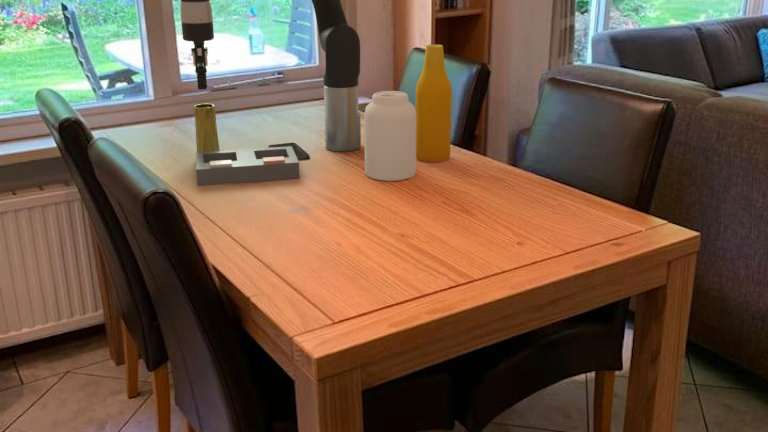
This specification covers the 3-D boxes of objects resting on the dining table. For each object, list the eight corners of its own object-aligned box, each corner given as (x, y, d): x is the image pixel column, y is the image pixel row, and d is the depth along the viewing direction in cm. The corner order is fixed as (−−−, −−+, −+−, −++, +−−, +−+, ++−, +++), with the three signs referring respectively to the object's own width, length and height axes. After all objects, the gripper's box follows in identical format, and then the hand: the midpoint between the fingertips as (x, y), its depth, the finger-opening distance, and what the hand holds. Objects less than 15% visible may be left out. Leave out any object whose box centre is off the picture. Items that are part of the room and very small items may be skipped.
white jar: (355, 177, 185) (354, 95, 178) (379, 164, 195) (379, 86, 188) (401, 184, 179) (402, 100, 172) (424, 170, 190) (425, 90, 183)
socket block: (292, 161, 198) (291, 143, 197) (299, 178, 185) (298, 159, 183) (197, 167, 193) (195, 150, 192) (197, 185, 179) (195, 167, 178)
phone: (281, 159, 197) (267, 145, 210) (281, 163, 198) (267, 149, 211) (310, 155, 200) (295, 142, 213) (311, 160, 201) (295, 146, 214)
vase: (207, 164, 196) (202, 109, 191) (192, 160, 200) (186, 106, 195) (225, 158, 201) (221, 105, 196) (210, 154, 204) (205, 102, 199)
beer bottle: (410, 161, 198) (411, 47, 188) (420, 152, 206) (421, 42, 196) (445, 164, 195) (447, 49, 185) (453, 154, 203) (457, 43, 193)
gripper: (213, 23, 182) (218, 90, 188) (211, 16, 195) (216, 80, 201) (180, 23, 180) (186, 92, 186) (181, 17, 193) (187, 81, 199)
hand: (202, 86), depth 193 cm, fingers open, 8 cm apart
